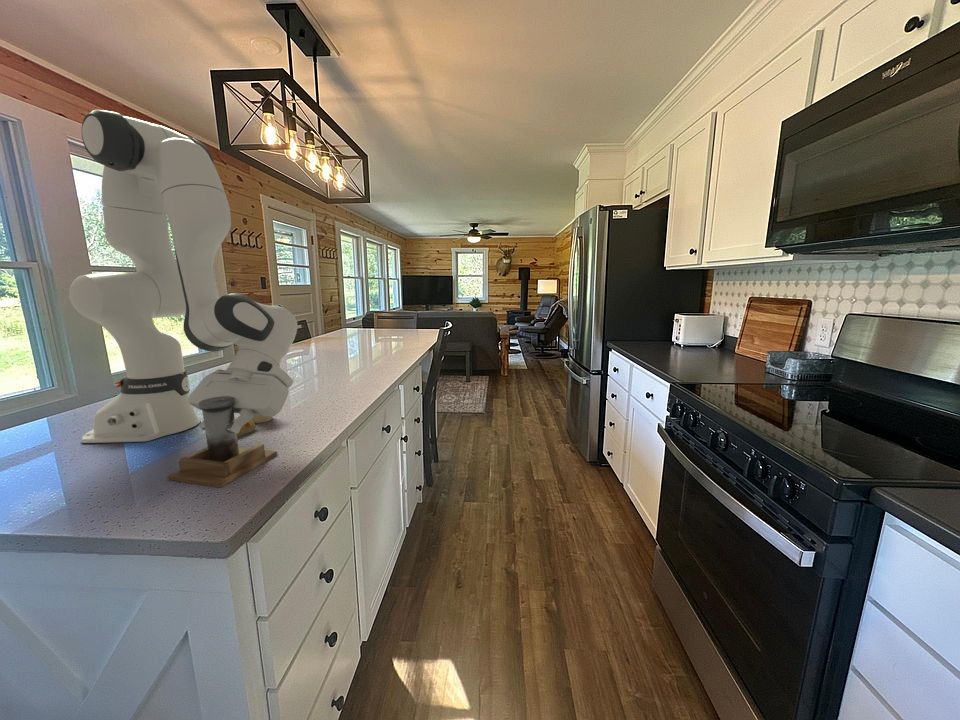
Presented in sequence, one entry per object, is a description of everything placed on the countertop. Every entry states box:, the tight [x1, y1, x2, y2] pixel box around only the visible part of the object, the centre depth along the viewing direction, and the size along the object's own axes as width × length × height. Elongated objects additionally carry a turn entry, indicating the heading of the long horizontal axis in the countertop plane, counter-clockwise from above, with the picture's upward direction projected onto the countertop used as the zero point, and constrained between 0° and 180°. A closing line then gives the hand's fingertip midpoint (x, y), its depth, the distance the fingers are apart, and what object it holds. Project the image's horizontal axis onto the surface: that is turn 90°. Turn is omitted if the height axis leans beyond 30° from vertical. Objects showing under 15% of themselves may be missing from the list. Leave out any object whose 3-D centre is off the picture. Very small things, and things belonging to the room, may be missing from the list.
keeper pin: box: [198, 396, 240, 462], centre depth 75 cm, size 6×6×12 cm
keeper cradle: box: [167, 443, 278, 489], centre depth 77 cm, size 14×12×3 cm
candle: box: [251, 415, 273, 424], centre depth 102 cm, size 6×6×10 cm
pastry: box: [235, 416, 256, 438], centre depth 93 cm, size 9×7×4 cm
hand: (218, 431), depth 75 cm, fingers closed on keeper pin, 5 cm apart
